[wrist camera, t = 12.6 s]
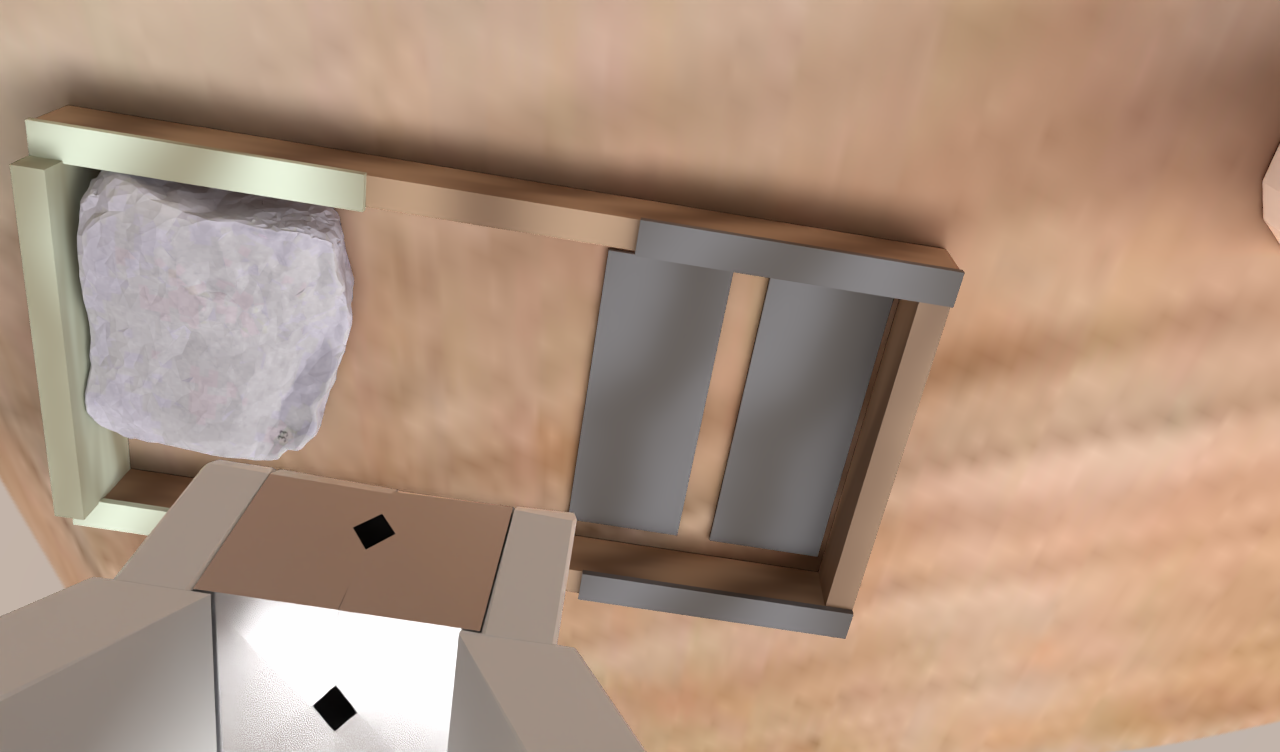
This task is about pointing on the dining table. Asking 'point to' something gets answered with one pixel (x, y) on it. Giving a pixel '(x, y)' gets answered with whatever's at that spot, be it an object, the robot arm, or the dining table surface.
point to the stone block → (211, 314)
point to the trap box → (620, 371)
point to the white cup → (1272, 196)
